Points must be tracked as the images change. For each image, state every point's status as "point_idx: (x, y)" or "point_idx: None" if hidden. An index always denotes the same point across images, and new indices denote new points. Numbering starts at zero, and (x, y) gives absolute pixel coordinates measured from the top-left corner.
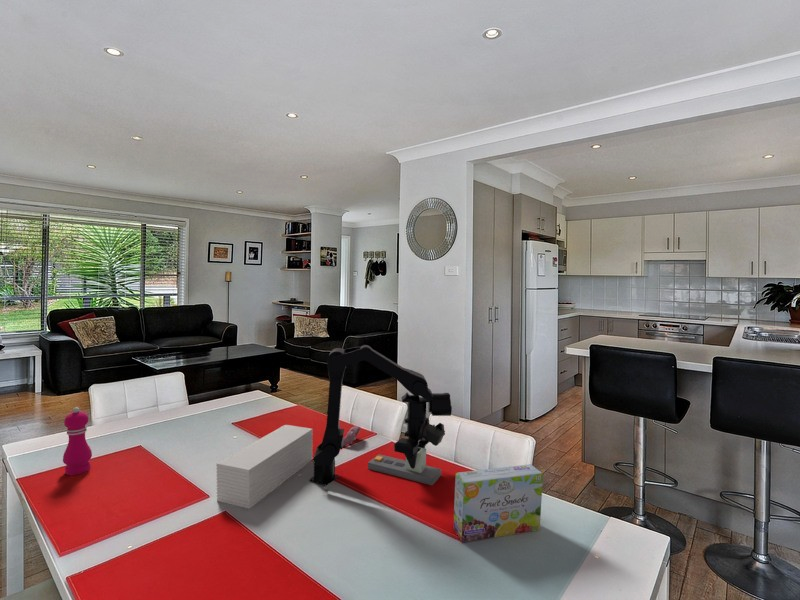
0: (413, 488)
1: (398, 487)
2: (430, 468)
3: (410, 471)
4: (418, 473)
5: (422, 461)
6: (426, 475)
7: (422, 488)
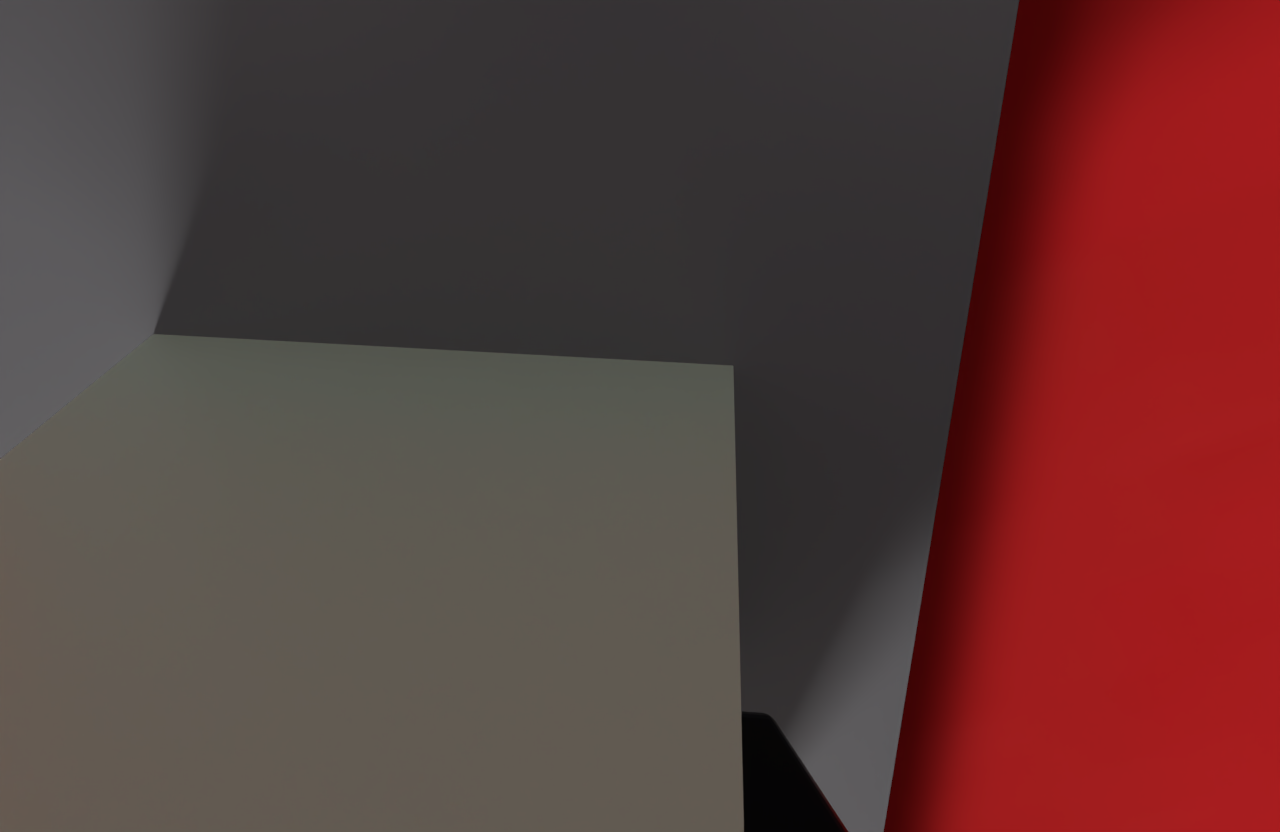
0: (1167, 300)
1: (1231, 676)
2: (84, 115)
3: None
4: (808, 426)
5: (437, 615)
6: (855, 28)
7: (1075, 28)
